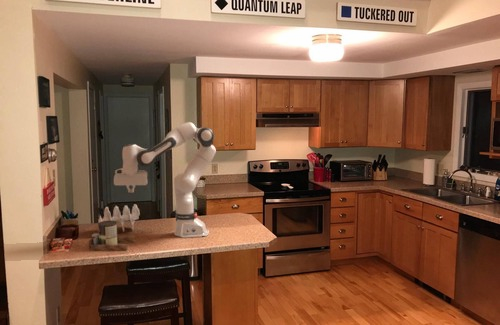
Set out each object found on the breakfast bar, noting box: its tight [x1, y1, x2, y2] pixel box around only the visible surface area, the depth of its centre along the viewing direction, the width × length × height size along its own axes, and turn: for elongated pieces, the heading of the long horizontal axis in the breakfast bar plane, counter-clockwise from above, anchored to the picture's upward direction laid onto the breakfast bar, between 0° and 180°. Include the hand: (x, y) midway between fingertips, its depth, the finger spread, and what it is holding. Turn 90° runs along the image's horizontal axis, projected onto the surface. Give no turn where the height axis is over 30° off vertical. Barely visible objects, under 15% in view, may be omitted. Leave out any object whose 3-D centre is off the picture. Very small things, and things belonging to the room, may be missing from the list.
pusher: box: [91, 232, 99, 245], centre depth 232 cm, size 4×12×7 cm, turn 1°
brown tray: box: [88, 236, 135, 252], centre depth 232 cm, size 21×16×6 cm
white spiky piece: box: [98, 204, 141, 233], centre depth 262 cm, size 18×18×25 cm
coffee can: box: [97, 221, 118, 245], centre depth 232 cm, size 10×10×14 cm
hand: (131, 192), depth 245 cm, fingers closed
